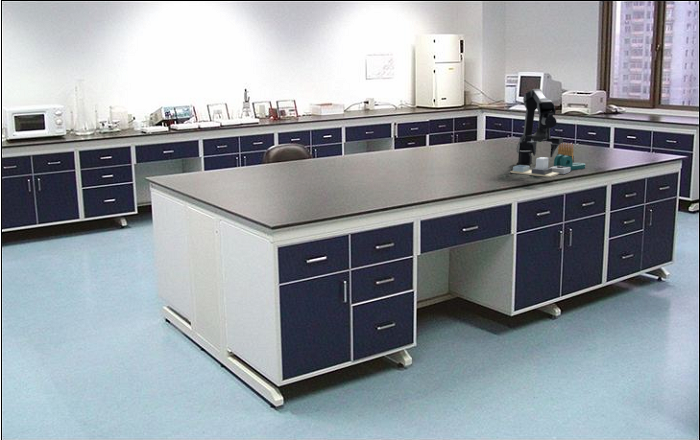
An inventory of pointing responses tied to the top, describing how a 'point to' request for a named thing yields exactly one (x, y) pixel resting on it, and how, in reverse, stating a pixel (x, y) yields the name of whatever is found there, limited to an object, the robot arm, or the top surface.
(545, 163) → the plug
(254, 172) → the top surface
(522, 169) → the header 3pin
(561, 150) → the ammunition clip
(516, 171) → the board
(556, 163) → the bracket
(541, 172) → the frame
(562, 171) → the grey knob block
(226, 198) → the top surface
